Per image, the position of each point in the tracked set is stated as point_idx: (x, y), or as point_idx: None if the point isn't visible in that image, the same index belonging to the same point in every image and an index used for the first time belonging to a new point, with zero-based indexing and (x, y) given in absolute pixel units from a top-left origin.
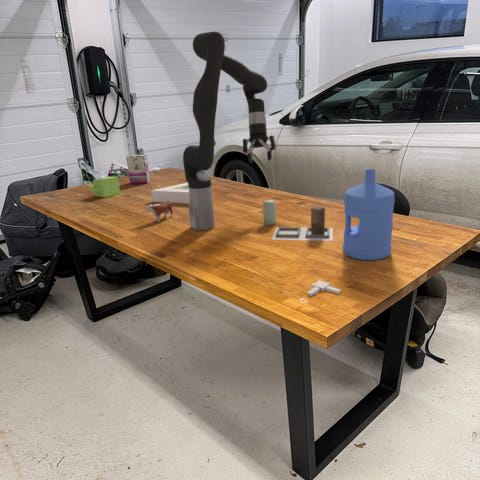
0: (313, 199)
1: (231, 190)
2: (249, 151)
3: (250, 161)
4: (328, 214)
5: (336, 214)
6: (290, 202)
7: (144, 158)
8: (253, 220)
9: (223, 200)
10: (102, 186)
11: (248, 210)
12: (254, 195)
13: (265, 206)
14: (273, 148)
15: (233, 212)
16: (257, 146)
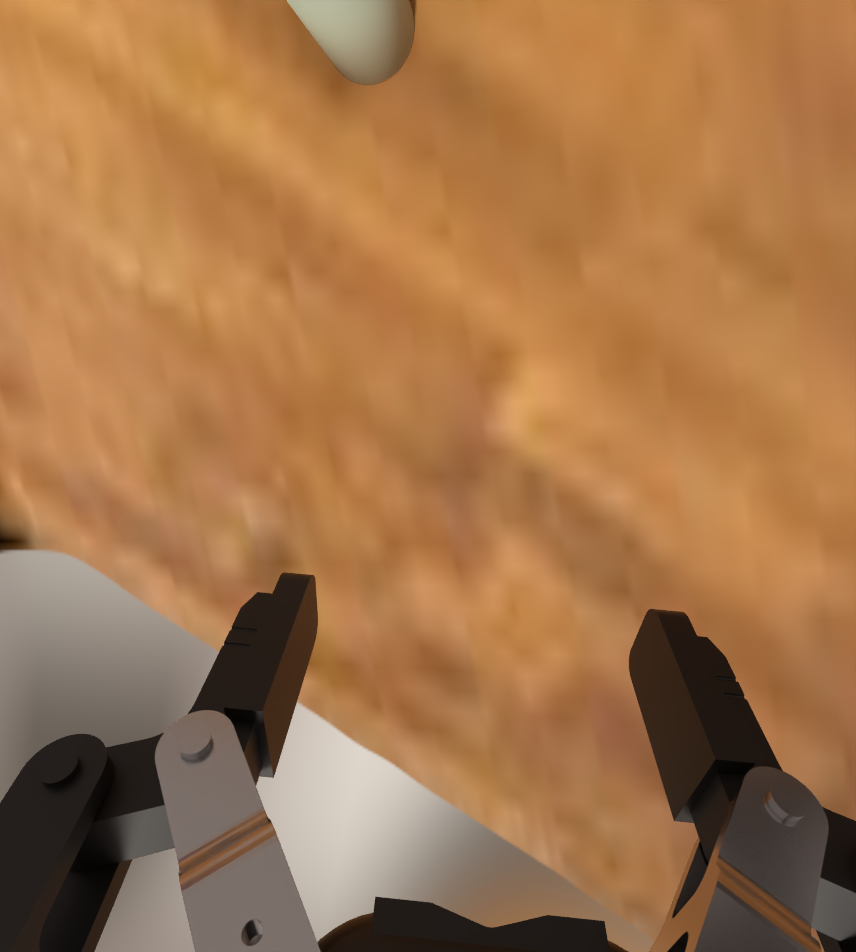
0: (221, 640)
1: None
2: (754, 818)
3: (659, 611)
4: (65, 342)
5: (24, 345)
6: (340, 585)
7: None
8: (517, 141)
9: (837, 646)
10: None
11: (597, 399)
12: (606, 744)
13: None
14: (50, 748)
15: (714, 340)
16: (517, 940)
